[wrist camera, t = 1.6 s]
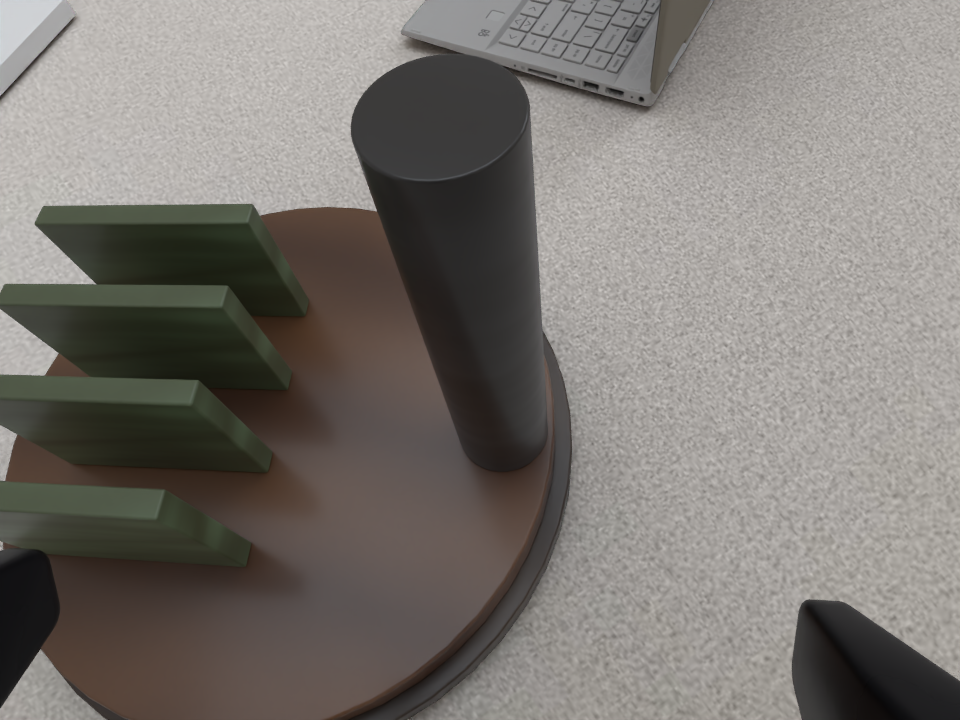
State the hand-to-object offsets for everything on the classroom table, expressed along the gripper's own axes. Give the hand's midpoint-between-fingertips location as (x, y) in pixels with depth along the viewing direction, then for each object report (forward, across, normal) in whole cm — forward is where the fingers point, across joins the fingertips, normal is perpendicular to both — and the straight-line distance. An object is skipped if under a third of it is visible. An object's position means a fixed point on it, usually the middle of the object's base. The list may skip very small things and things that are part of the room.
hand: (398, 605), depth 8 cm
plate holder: (+13, +7, +4) cm, 15 cm away
